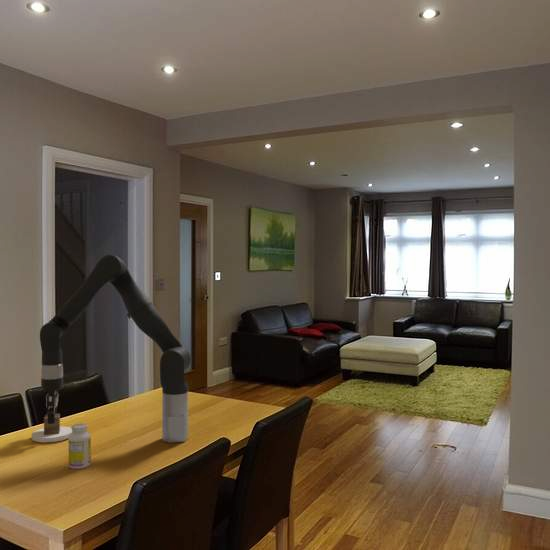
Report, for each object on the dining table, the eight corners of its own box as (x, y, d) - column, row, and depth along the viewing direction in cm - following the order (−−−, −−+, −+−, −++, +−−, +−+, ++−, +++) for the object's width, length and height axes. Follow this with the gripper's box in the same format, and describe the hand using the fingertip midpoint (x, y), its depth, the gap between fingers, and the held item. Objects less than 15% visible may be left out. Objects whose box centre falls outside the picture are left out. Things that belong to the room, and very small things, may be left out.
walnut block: (58, 433, 195) (58, 417, 195) (44, 434, 193) (43, 418, 193) (60, 429, 200) (59, 413, 199) (45, 430, 198) (45, 414, 198)
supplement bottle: (83, 460, 174) (83, 421, 174) (95, 465, 170) (95, 425, 170) (64, 466, 169) (64, 425, 169) (75, 471, 165) (75, 429, 164)
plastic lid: (72, 431, 206) (72, 424, 206) (73, 442, 193) (73, 435, 193) (32, 435, 201) (32, 428, 201) (30, 447, 188) (30, 439, 188)
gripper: (61, 379, 190) (61, 424, 191) (64, 372, 204) (64, 414, 204) (38, 380, 188) (38, 426, 188) (43, 373, 202) (43, 415, 202)
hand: (52, 420), depth 196 cm, fingers open, 8 cm apart
